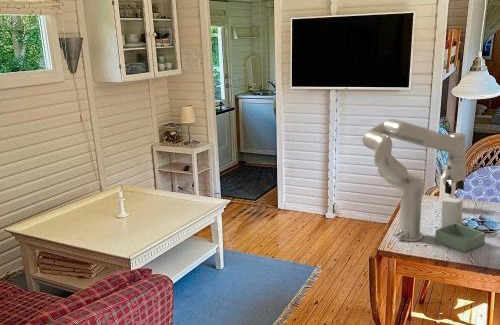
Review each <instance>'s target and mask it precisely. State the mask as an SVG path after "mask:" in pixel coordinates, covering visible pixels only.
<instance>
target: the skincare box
mask: <svg viewBox="0 0 500 325" xmlns="http://www.w3.org/2000/svg"><path fill="white" fill-rule="evenodd" d="M463 200H464V199H461V198H457V197H455V198H450V197H446V198H445V199H444V200H442V210H441V228H443V227H445V226H448V225H450V224H453V223H458V224H460V225H463V224H462V223H463V222H462V221H463Z"/></svg>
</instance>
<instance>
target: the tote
mask: <svg viewBox="0 0 500 325" xmlns="http://www.w3.org/2000/svg"><path fill="white" fill-rule="evenodd" d="M434 235H435V240H434V242H435V243H437V244H440V245H442V246H446V247H448V248H450V249H452V250H455V251H457V252H461V253H462V254H467V253H469V252H471V251H473V250H474V251H475V250H476V249H478V248H480V247H483V246H485V240H486V233H485V232H483V231H480V230H478V229H474V228H471V227H469V226H466V225H464V224H462V225H460V224H458V223H453V224H450V225H448V226H445V227H443V228H442V227H440V228H437V229H435V234H434Z"/></svg>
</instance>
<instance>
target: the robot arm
mask: <svg viewBox="0 0 500 325" xmlns="http://www.w3.org/2000/svg"><path fill="white" fill-rule="evenodd" d="M392 138H393V139H396V140H399V141H403V142H406V143H410V144H413V145H416V146H417V145H418V146H419V147H420V146H421V147H423V148H424V147H425V148H430V149H435V150H438V151H442V152H444V153H447V164H446V169H445V171H446V176H445V177H444V178H443V182H444V185H445V193H447V194H451V190H452V187H451V185H452V183H455V182H456V183H457V184H456V185H457V186H456V188H457V189H458V190H462V191H463V190H464V189H465V182H466V180H465V179H466V178H467V174H468V172H467V166H466V161H465V160H466V159H465V157H466V156H465V155H466V141H467V139H466V138H467V136H466V134H464V133H462V132H453V133H452V132H451V133H446V134H445V133H440V132H437V131H435V130H432V129H429V128H426V127H423V126H419V125H417V124H413V123H409V122H405V121H403V120H402V121H401V120H398V119H394V118H391V119H387V120H385V121H382V122H380V123H379V124H378V125H376V126H374V127H372V128H371V129H369V130H367V131H366V132H364V134H363V136H362V140H361V141H362V143H363V146H365V147H366V148H368V149H370V150H373V151H374V158H373V159H374V164H375V166H376V167H377V172H378V174H379V176H380V177H381V178H382V179H383V180H384V181H386V182H387V183H388V184H390V185H391V186H392V187H393V188H395V189H397V190H399V191H400V192H402V193H403V194H402V197H401V200H400V204H399V205H400V207H399V208H400V211H399V212H400V213H399V214H400V215H399V227H398V230H397V231H396V232H393V237H394V238H398V239H399V240H402V241H406V242H419V241H422V240H423V238H424V234H423V233H422V232H421V221H422V220H421V218H422V215H421V214H422V202H423V201H422V200H423V194H424V191H425V182H424V181H423V179H422V178H420V177H419V176H417V175H415V174H412V173H409V170H408V168H407V167H406V166H405V165H404V164H402V162H400V161H399V160H397V159H396V158H395V157H394V156H393V154H392V149H393V141H392ZM448 182H450V183H448Z"/></svg>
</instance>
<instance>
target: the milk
mask: <svg viewBox="0 0 500 325" xmlns="http://www.w3.org/2000/svg"><path fill="white" fill-rule="evenodd" d="M442 173H443V174H442V175H441V176H440V182H439V196H438V197H439V199H438V209H439V210H441V211H442V200H444V199H445V198H446V197H450V198H456V188H457V186H456V185H457V182H455V183H452V185H451V187H452V190H451V194H447V193H445V185H444V182H443V178H444V177H445V176H446V170H443V172H442ZM448 183H450V182H448Z"/></svg>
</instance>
